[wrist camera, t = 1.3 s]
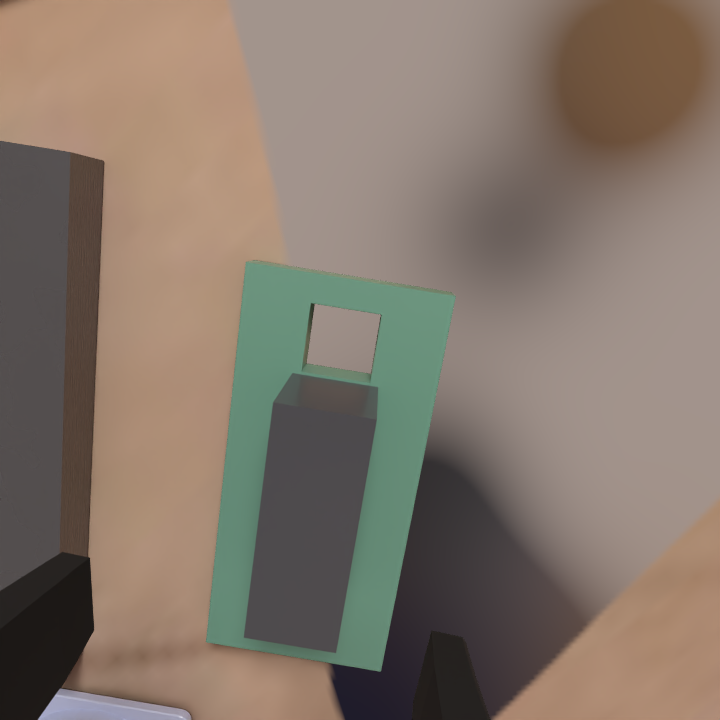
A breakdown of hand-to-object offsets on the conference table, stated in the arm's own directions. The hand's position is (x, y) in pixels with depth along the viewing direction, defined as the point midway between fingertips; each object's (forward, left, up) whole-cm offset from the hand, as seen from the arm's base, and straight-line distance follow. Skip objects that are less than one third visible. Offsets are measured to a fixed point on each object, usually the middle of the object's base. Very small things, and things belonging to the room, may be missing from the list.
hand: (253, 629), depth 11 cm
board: (-1, 0, -10) cm, 10 cm away
